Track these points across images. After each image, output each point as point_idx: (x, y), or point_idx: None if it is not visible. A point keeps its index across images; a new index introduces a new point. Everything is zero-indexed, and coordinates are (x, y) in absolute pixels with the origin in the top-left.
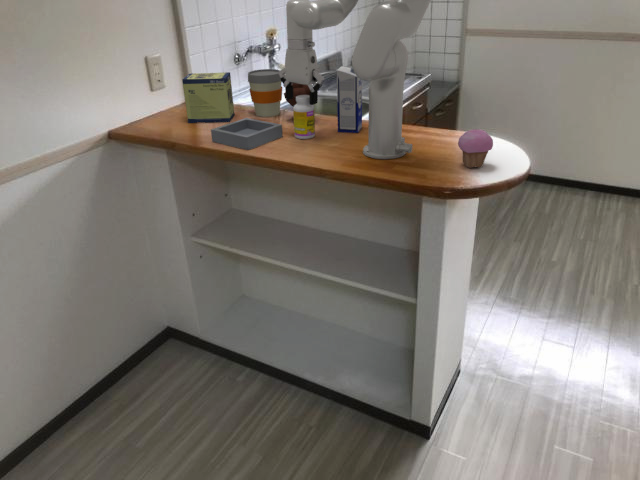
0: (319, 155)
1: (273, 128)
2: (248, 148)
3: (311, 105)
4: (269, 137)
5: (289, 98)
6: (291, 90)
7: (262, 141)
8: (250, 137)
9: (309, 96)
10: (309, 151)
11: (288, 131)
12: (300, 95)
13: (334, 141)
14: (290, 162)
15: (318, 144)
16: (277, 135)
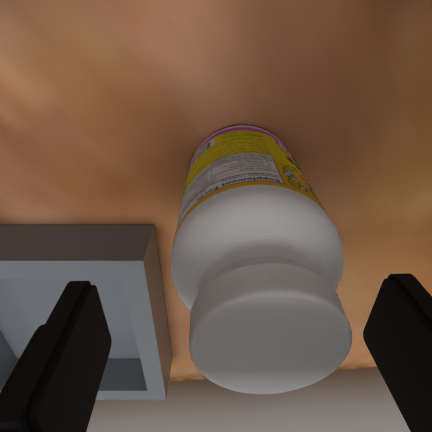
0: None
1: (152, 305)
2: (171, 361)
3: (334, 269)
4: (159, 300)
5: (104, 333)
6: (69, 386)
7: (164, 323)
8: (165, 386)
9: (400, 409)
10: (360, 292)
11: (107, 149)
12: (210, 335)
13: (416, 159)
14: (348, 365)
15: (358, 225)
16: (156, 261)
